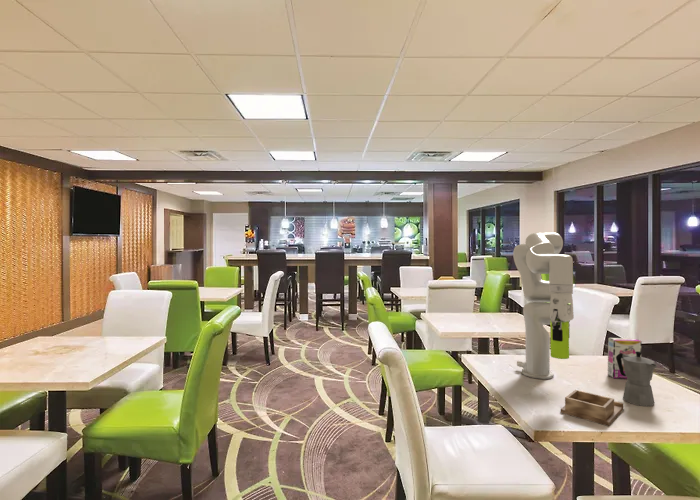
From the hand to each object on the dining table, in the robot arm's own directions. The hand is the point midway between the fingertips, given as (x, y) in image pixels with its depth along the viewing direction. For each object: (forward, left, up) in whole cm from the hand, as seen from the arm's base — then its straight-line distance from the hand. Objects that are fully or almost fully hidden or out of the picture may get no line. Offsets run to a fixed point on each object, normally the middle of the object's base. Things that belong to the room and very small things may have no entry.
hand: (561, 338), depth 141 cm
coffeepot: (+18, +21, -23) cm, 36 cm away
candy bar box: (+9, +48, -23) cm, 54 cm away
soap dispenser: (0, 0, -7) cm, 7 cm away
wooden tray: (+10, -1, -23) cm, 25 cm away
